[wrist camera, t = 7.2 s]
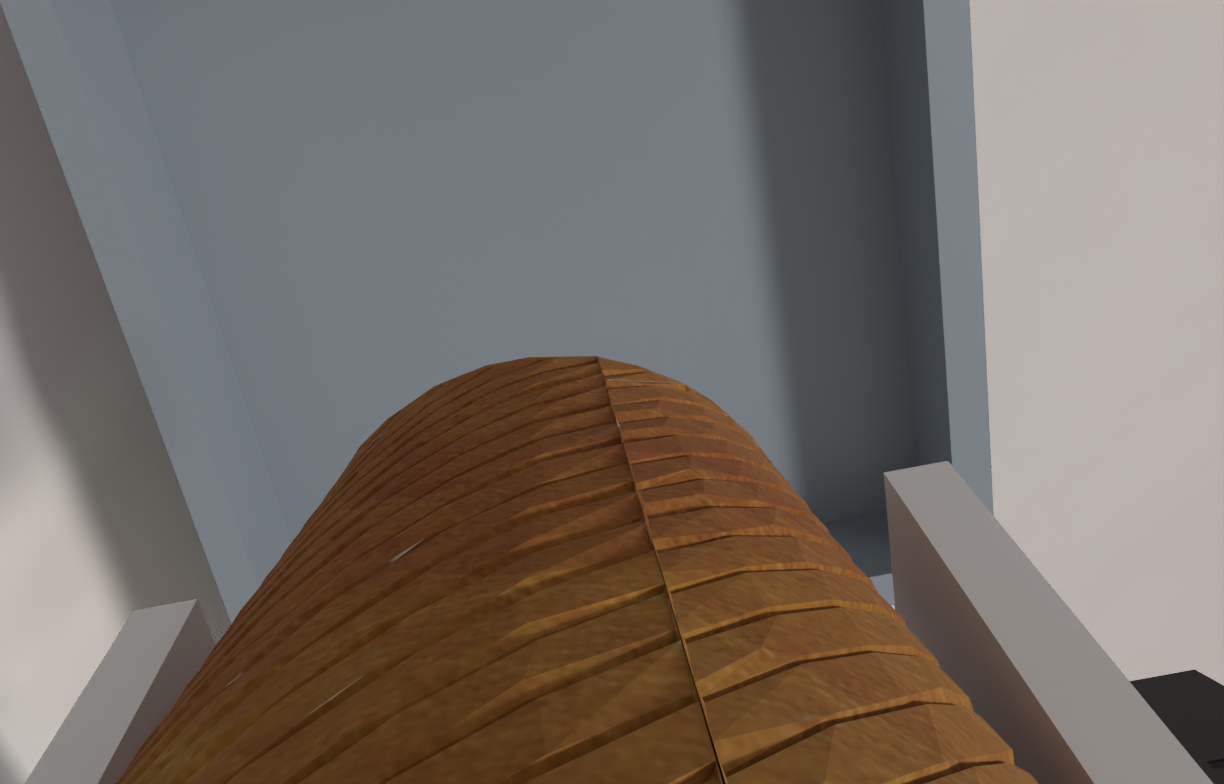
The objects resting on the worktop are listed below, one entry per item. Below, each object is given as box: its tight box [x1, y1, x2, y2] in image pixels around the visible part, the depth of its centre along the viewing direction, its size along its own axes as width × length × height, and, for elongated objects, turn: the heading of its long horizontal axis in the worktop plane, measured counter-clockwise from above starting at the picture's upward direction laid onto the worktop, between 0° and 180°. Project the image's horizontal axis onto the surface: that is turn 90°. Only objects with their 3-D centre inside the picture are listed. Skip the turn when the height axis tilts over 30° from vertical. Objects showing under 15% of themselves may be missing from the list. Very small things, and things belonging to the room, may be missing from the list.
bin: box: [0, 0, 993, 624], centre depth 27 cm, size 20×20×4 cm
